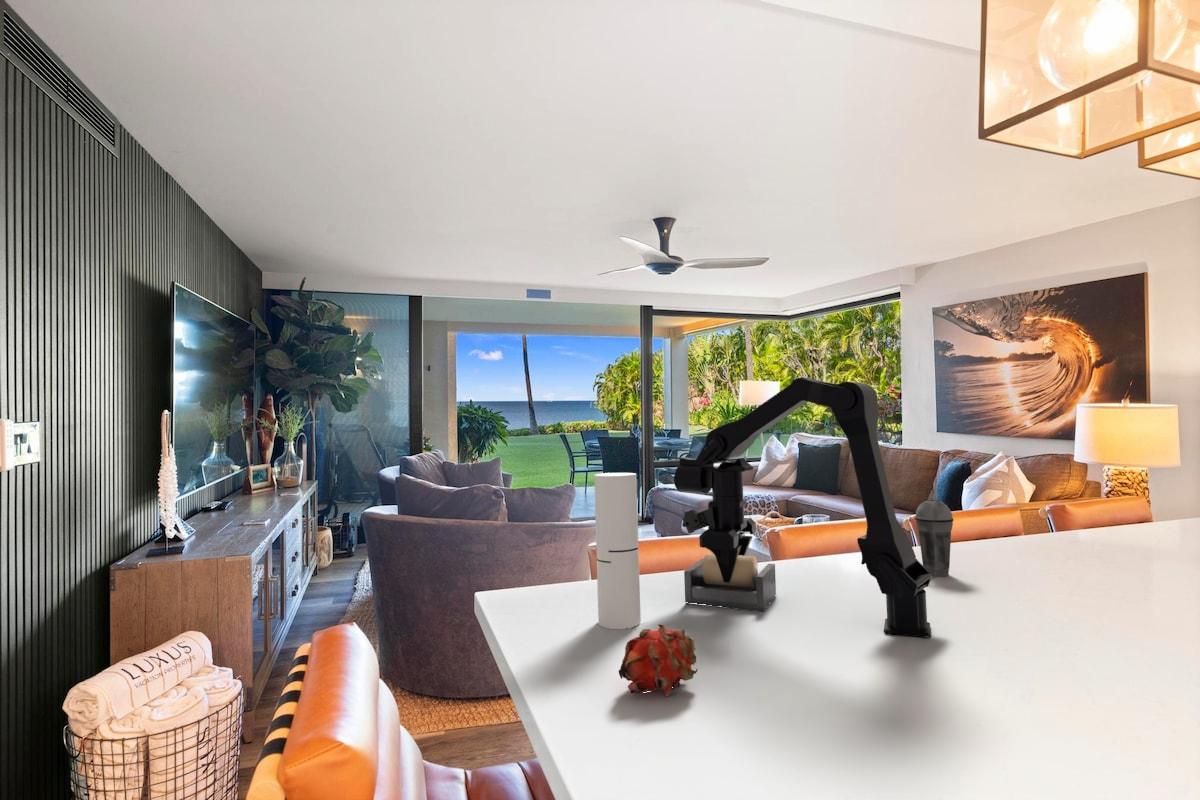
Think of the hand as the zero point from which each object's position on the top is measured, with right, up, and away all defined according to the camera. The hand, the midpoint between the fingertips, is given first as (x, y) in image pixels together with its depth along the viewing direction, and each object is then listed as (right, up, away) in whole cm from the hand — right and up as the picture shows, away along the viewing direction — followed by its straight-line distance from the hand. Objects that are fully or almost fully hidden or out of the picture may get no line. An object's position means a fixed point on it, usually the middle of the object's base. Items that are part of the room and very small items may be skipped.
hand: (730, 578), depth 124 cm
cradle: (0, -4, 0) cm, 4 cm away
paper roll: (0, -1, 0) cm, 1 cm away
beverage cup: (+46, -3, +15) cm, 48 cm away
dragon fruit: (-17, -3, -41) cm, 44 cm away
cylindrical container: (-21, -4, -12) cm, 25 cm away
